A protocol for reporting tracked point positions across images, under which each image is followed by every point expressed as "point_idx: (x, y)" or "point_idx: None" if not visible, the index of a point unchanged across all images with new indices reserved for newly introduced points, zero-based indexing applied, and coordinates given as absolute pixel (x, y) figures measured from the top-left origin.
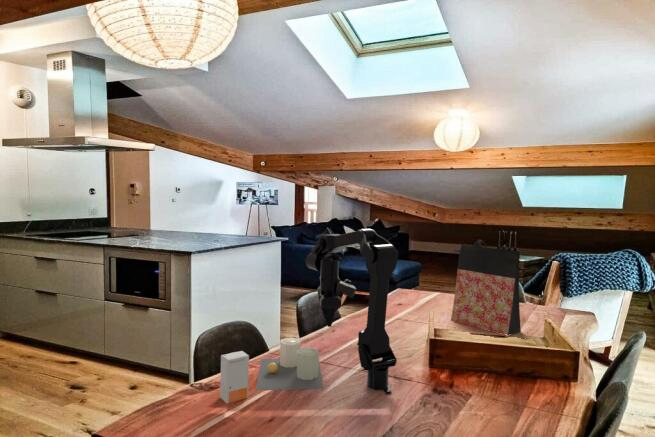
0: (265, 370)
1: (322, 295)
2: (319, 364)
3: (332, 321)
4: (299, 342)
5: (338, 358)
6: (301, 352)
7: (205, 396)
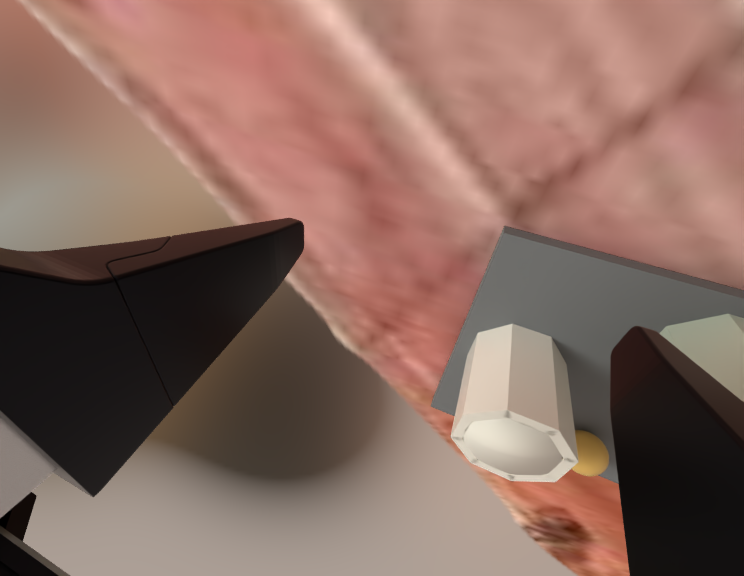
0: None
1: (21, 482)
2: (595, 258)
3: (724, 388)
4: (557, 433)
5: (501, 90)
6: None
7: (620, 556)
